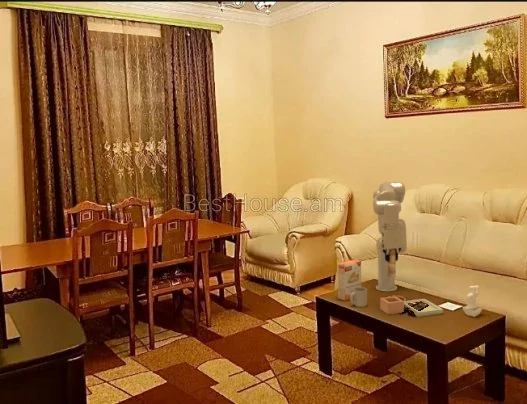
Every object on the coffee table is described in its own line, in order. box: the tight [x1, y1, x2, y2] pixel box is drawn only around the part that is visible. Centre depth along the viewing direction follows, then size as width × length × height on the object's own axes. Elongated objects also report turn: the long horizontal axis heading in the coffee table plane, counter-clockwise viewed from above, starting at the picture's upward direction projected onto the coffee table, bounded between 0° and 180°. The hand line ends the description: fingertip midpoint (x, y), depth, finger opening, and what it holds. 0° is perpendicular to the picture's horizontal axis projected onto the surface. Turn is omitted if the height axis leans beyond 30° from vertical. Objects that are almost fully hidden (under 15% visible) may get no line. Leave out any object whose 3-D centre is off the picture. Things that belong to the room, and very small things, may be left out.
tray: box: [403, 298, 444, 318], centre depth 270 cm, size 18×14×2 cm
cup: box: [349, 286, 368, 308], centre depth 281 cm, size 7×10×9 cm
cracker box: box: [337, 259, 362, 302], centre depth 294 cm, size 14×6×21 cm, turn 129°
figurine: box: [462, 285, 483, 318], centre depth 259 cm, size 7×9×15 cm
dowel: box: [388, 249, 397, 277], centre depth 267 cm, size 4×4×14 cm
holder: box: [379, 296, 405, 315], centre depth 270 cm, size 9×9×6 cm
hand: (391, 260), depth 267 cm, fingers closed on dowel, 4 cm apart
